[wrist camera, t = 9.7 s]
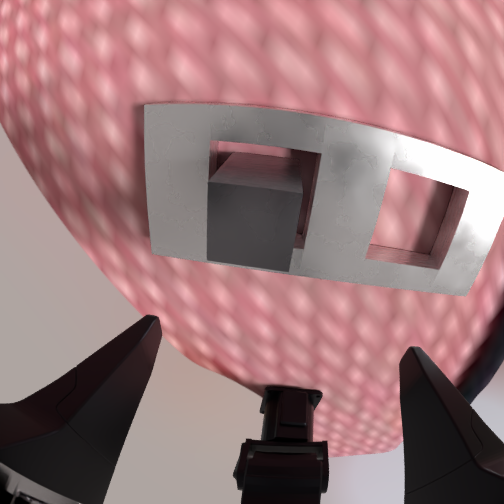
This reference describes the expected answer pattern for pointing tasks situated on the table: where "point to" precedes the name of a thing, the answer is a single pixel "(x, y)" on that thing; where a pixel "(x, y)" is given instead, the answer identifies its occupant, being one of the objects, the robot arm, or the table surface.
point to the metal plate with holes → (322, 193)
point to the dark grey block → (254, 211)
